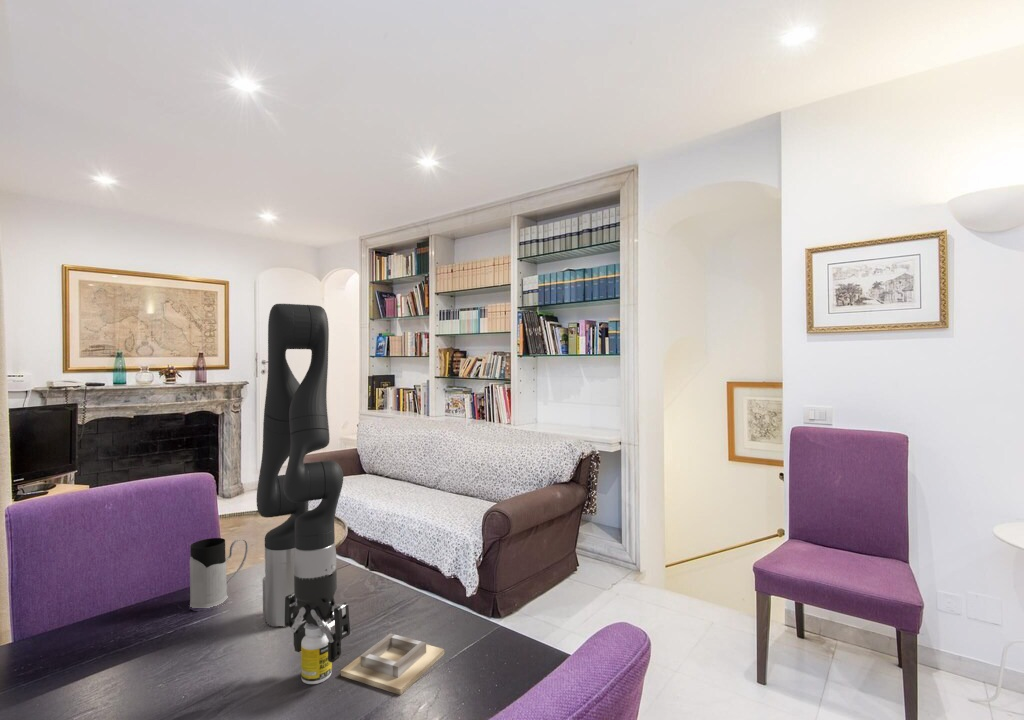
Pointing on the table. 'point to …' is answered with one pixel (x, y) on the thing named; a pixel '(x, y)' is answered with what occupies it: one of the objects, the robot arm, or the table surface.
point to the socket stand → (393, 663)
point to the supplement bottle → (315, 656)
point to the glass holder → (210, 572)
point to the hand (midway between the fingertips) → (317, 654)
